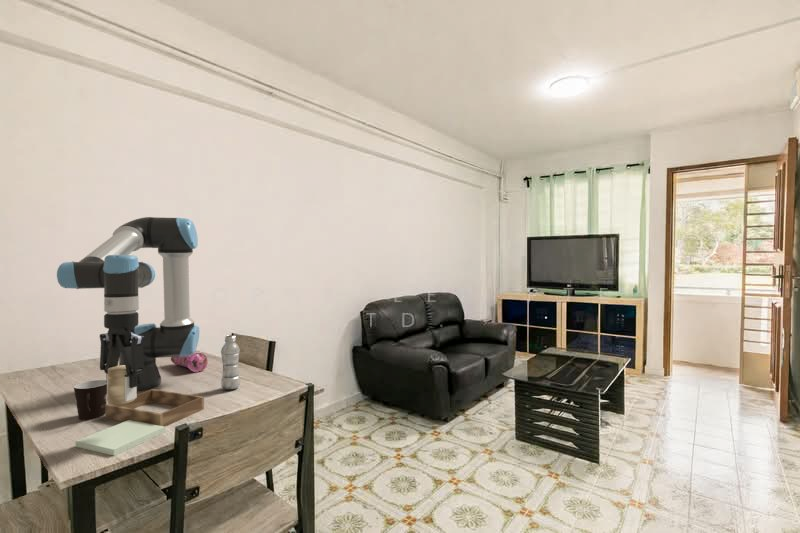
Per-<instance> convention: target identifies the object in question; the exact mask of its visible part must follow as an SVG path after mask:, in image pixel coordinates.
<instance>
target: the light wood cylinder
mask: <svg viewBox="0 0 800 533" xmlns="http://www.w3.org/2000/svg"><path fill="white" fill-rule="evenodd" d="M124 375H127V371H126V367H125V365H120V366H119V365H118V366H115V367H111V368H109V369H108V398H107V404H109V405H120V404H126V403H129V402H132V401H134V400H135V399H132V400H129V401H125V376H124Z"/></svg>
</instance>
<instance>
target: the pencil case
mask: <svg viewBox="0 0 800 533" xmlns="http://www.w3.org/2000/svg"><path fill="white" fill-rule="evenodd" d="M208 360H209V359H208V356H207V354H205V353H203V352H201V351H195V352H194V353H193V354H192V355H190V356H182V357H170V361H171V362H172V364H174V365H176V366H179V367H183V368H187V369H189V371H191V372H193V373H198V372H199V371H200V372H201V371H202V372H203V371H204V370H205V369H206V368H207V367H208Z"/></svg>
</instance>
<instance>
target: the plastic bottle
mask: <svg viewBox="0 0 800 533" xmlns="http://www.w3.org/2000/svg"><path fill="white" fill-rule="evenodd" d="M236 341H237V337H236V335H235V334H229V335H225V337H224V344H223V346H222V347H221V349H220V354H221V360H222V362H221V363H222V373H221V374H222V375H221V379H220V380H221V382H220V384H221V385H220V386H221V388H222V389H223V390H226V391H227V390H228V391H229V390H230V391H231V390H235V389H238V388H239V387H240V385H241V384H240V383H241V377H240V374H239V371H240V370H239V358H240V351H241V350H240V346H239V345H238V343H236Z"/></svg>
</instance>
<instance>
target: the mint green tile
mask: <svg viewBox="0 0 800 533" xmlns="http://www.w3.org/2000/svg"><path fill="white" fill-rule="evenodd" d="M165 432H166V426H165V427H164V426H158V425H153V424H148V423H143V422H137V421H132V420H128V421H125V422H123V421H122V422H120V423H118V424H116V425H113V426H110V427H108V428H105V429H103V430H100V431H97V432H95V433H92V434H90V435H87V436H84V437H82V438H80V439H77V440H75V447H76V448H80V449H85V450H89V451H93V452H97V453H101V454H105V455H110V456H117V455H119V454H121V453H122V452H125V451H128V450H129V449H132V448H135V447H136V446H138V445H140V444H142V443H144V442H147V441H149V440H151V439H153V438H155V437H157V436H160V435H162V434H164V433H165Z"/></svg>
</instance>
